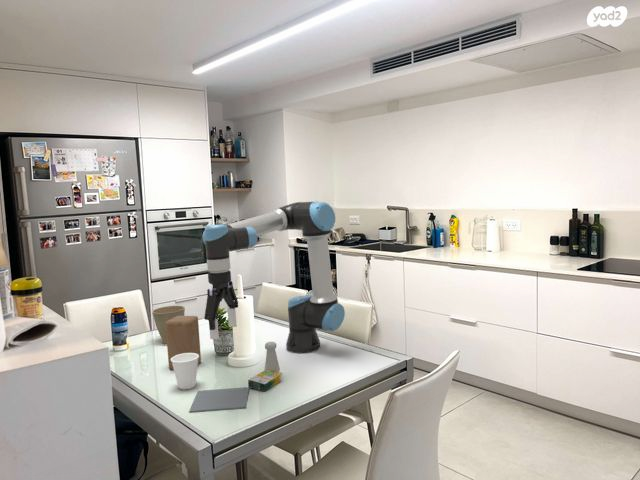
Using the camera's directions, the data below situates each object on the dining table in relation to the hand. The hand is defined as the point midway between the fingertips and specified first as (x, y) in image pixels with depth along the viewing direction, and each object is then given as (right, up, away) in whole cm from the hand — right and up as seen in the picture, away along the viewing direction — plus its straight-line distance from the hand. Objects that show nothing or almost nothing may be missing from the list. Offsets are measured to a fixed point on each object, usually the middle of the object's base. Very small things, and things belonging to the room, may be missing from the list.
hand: (224, 332), depth 163 cm
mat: (-1, -23, -1) cm, 23 cm away
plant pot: (-39, -18, +68) cm, 81 cm away
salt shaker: (+15, -20, +18) cm, 31 cm away
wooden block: (-22, -20, +33) cm, 45 cm away
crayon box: (+10, -20, +5) cm, 23 cm away
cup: (-16, -22, +12) cm, 30 cm away
